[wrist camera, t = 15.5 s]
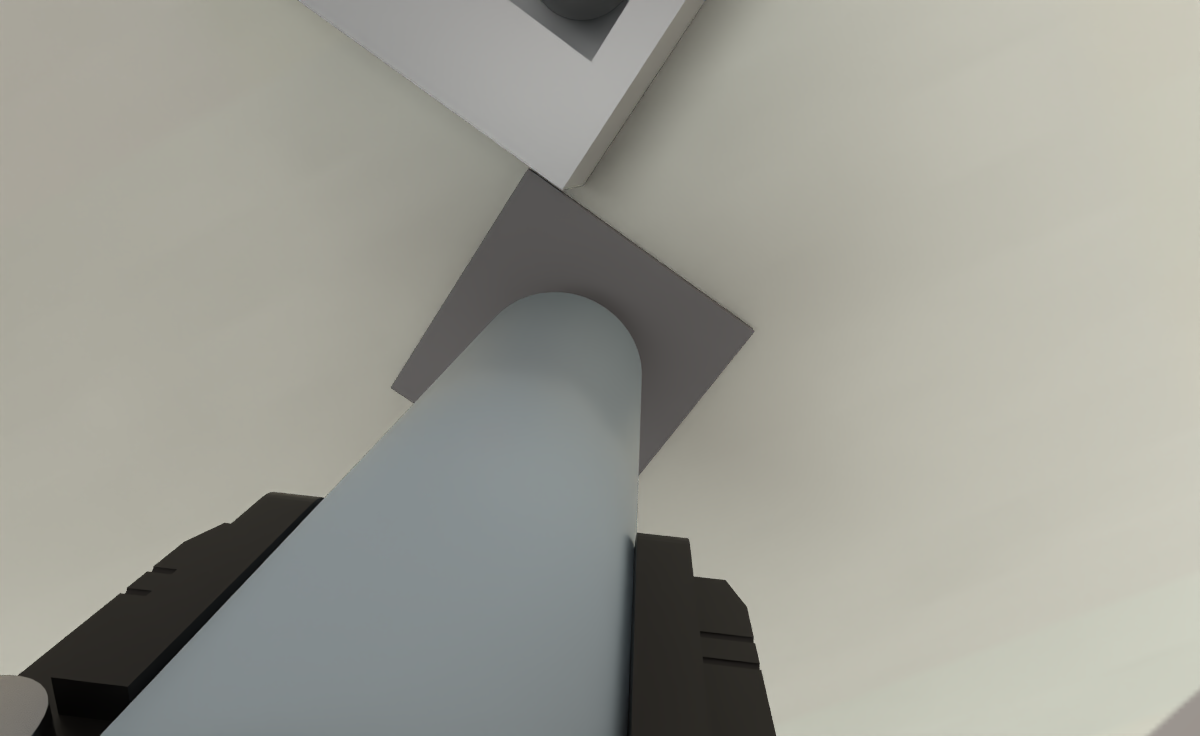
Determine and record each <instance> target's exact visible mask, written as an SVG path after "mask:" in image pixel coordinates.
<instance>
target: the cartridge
mask: <svg viewBox="0 0 1200 736" xmlns="http://www.w3.org/2000/svg"><path fill="white" fill-rule="evenodd" d="M641 386H642V368H641V360H640V356H639V353H638V349H637V347H636V345H635V342H634V340H633V338H632V336H631V335H630V333H629V331H628V330H627V329H626V327H625V326H624V325H623V323H622V322H621V321H620V320H619V319H618V318H617V317H616V316H615V315H614V314H613V313H611V312H610V311H609V310H608V309H606V308H605V307H603V306H602V305H600V304H598V303H597V302H595V301H593V300H590V299H588V298H586V297H583V296H579V295H575V294H571V293H564V292H547V293H539V294H535V295H531V296H528V297H525V298H523V299H520V300H518V301H516V302H514V303H513V304H511V305H509V306H508V307H506V308H505V309H504V310H502V311H501V312H500V313H499V314H498V315H497V316H496V317H495V318H494V319H493V320H492V321H491V322H490V323H489V324H488V325H487V327H486V328H485V329H484V330H483V331H482V332H481V333H480V334H479V335H478V336H477V337H476V338H475V339H474V340H473V341H472V342H471V343H470V345H469V346H468V347H467V348H466V349H465V350H464V351H463V352H462V353H461V354H460V355H459V356H458V357H457V358H456V359H455V360H454V361H453V362H452V364H451V365H450V366H449V367H448V368H447V369H446V370H445V371H444V372H443V373H442V374H441V375H440V376H439V377H438V378H437V379H436V380H435V382H434V383H433V384H432V385H431V386H430V387H429V388H428V389H427V390H426V391H425V392H424V393H423V394H422V395H421V396H420V397H419V398H418V400H417V401H416V402H415V403H414V404H413V405H412V406H411V407H410V408H409V409H408V410H407V411H406V412H405V413H404V414H403V415H402V416H401V418H400V419H399V420H398V421H397V422H396V423H395V424H394V425H393V426H392V427H391V428H390V429H389V430H388V431H387V432H386V433H385V434H384V436H383V437H382V438H381V439H380V440H379V441H378V442H377V443H376V444H375V445H374V446H373V447H372V448H371V449H370V450H369V451H368V452H367V454H366V455H365V456H364V457H363V458H362V459H361V460H360V461H359V462H358V463H357V464H356V465H355V466H354V467H353V468H352V469H351V470H350V472H349V473H348V474H347V475H346V476H345V477H344V478H343V479H342V480H341V481H340V482H339V483H338V484H337V485H336V486H335V487H334V488H333V489H332V491H331V492H330V493H329V494H328V495H327V496H326V497H325V498H324V499H323V500H322V501H321V502H320V503H319V504H318V505H317V506H316V507H315V509H314V510H313V511H312V512H311V513H310V514H309V515H308V516H307V517H306V518H305V519H304V520H303V521H302V522H301V523H300V524H299V525H298V527H297V528H296V529H295V530H294V531H293V532H292V533H291V534H290V535H289V536H288V537H287V538H286V539H285V540H284V541H283V542H282V543H281V545H280V546H279V547H278V548H277V549H276V550H275V551H274V552H273V553H272V554H271V555H270V556H269V557H268V558H267V559H266V560H265V561H264V563H263V564H262V565H261V566H260V567H259V568H258V569H257V570H256V571H255V572H254V573H253V574H252V575H251V576H250V577H249V578H248V579H247V581H246V582H245V583H244V584H243V585H242V586H241V587H240V588H239V589H238V590H237V591H236V592H235V593H234V594H233V595H232V596H231V597H230V599H229V600H228V601H227V602H226V603H225V604H224V605H223V606H222V607H221V608H220V609H219V610H218V611H217V612H216V613H215V614H214V615H213V616H212V618H211V619H210V620H209V621H208V622H207V623H206V624H205V625H204V626H203V627H202V628H201V629H200V630H199V631H198V632H197V633H196V634H195V636H194V637H193V638H192V639H191V640H190V641H189V642H188V643H187V644H186V645H185V646H184V647H183V648H182V649H181V650H180V651H179V652H178V654H177V655H176V656H175V657H174V658H173V659H172V660H171V661H170V662H169V663H168V664H167V665H166V666H165V667H164V668H163V669H162V670H161V672H160V673H159V674H158V675H157V676H156V677H155V678H154V679H153V680H152V681H151V682H150V683H149V684H148V685H147V686H146V687H145V688H144V690H143V691H142V692H141V693H140V694H139V695H138V696H137V697H136V698H135V699H134V700H133V701H132V702H131V703H130V704H129V705H128V706H127V708H126V709H125V710H124V711H123V712H122V713H121V714H120V715H119V716H118V717H117V718H116V719H115V720H114V721H113V722H112V723H111V724H110V726H109V727H108V728H107V729H106V730H105V731H104V732H103V733H102V734H101V735H100V736H627V728H628V702H629V675H630V649H631V622H632V595H633V569H634V546H635V539H636V533H637V508H638V478H639V447H640V416H641Z"/></svg>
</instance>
